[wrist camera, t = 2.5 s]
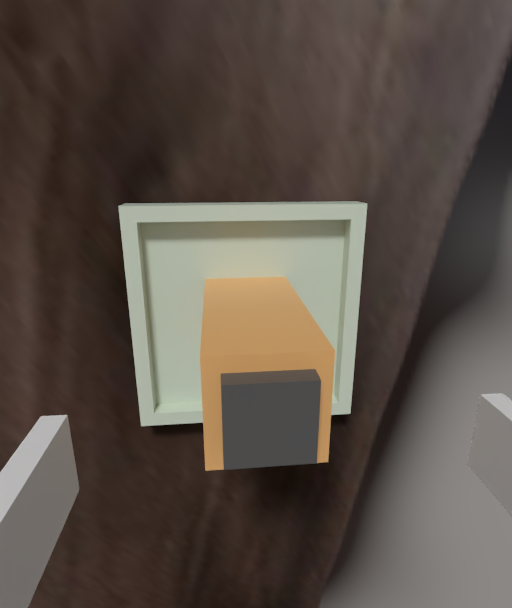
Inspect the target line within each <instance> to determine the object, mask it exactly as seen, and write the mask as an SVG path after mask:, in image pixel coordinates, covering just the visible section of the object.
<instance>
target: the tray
mask: <svg viewBox="0 0 512 608" xmlns="http://www.w3.org/2000/svg"><path fill="white" fill-rule="evenodd" d="M118 207H119V216H120V226H121V236H122V245H123V255H124V265H125V275H126V284H127V294H128V304H129V313H130V323H131V333H132V342H133V352H134V362H135V371H136V381H137V391H138V400H139V410H140V420H141V426H153V425H170V424H187V423H203V410H202V389H201V369H200V348H201V333H202V318H203V303H204V288H205V279H213V278H251V277H286V278H287V280H288V281H289V283H290V284H291V286H292V287H293V289H294V290H295V291H296V293H297V294H298V296H299V297H300V299H301V300H302V302H303V303H304V305H305V306H306V308H307V309H308V311H309V312H310V314H311V315H312V317H313V318H314V320H315V321H316V323H317V324H318V326H319V327H320V329H321V330H322V332H323V333H324V335H325V336H326V338H327V339H328V341H329V342H330V343H331V345H332V346H333V348H334V349H335V362H334V378H333V394H332V409H331V415H339V414H350V413H351V400H352V388H353V375H354V363H355V350H356V338H357V325H358V313H359V301H360V288H361V276H362V263H363V251H364V238H365V226H366V213H367V203H362V202H358V201H336V202H232V203H128V204H123V205H120V206H118Z"/></svg>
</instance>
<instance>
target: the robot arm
mask: <svg viewBox="0 0 512 608" xmlns="http://www.w3.org/2000/svg"><path fill="white" fill-rule="evenodd" d="M468 466H469V467H470V468H471V469H472V470H473V471H474V473H475V474H476V475H477V476H478V477H479V478H480V480H481V481H482V482H483V483H484V484H485V485H486V487H487V488H488V489H489V490H490V491H491V492H492V493H493V495H494V496H495V497H496V498H497V499H498V501H499V502H500V503H501V504H502V505H503V506H504V508H505V509H506V510H507V511H508V512H509V513H510V515H511V516H512V400H510V399H509V398H508V397H506V396H505V395H504V394H502V393H500V394H481V395H480V399H479V405H478V410H477V416H476V421H475V427H474V433H473V438H472V443H471V449H470V454H469V460H468ZM78 492H79V484H78V478H77V471H76V465H75V459H74V453H73V447H72V441H71V434H70V428H69V422H68V416H67V415H57V416H41V417H40V418H39V420H38V421H37V423H36V424H35V425H34V427H33V428H32V429H31V431H30V432H29V434H28V435H27V436H26V438H25V439H24V440H23V442H22V443H21V445H20V446H19V447H18V449H17V450H16V451H15V453H14V454H13V456H12V457H11V458H10V460H9V461H8V462H7V464H6V465H5V467H4V468H3V469H2V471H1V472H0V608H28V606H29V604H30V601H31V599H32V597H33V595H34V592H35V590H36V588H37V585H38V583H39V581H40V579H41V576H42V574H43V572H44V569H45V567H46V565H47V562H48V560H49V558H50V556H51V553H52V551H53V549H54V546H55V544H56V542H57V540H58V537H59V535H60V533H61V530H62V528H63V526H64V524H65V521H66V519H67V517H68V514H69V512H70V510H71V508H72V505H73V503H74V501H75V498H76V496H77V494H78Z"/></svg>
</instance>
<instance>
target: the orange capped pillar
mask: <svg viewBox="0 0 512 608" xmlns="http://www.w3.org/2000/svg"><path fill="white" fill-rule="evenodd" d="M334 362H335V349H334V348H333V346H332V345H331V343H330V342H329V341H328V339H327V338H326V336H325V335H324V333H323V332H322V330H321V329H320V327H319V326H318V324H317V323H316V321H315V320H314V318H313V317H312V315H311V314H310V312H309V311H308V309H307V308H306V306H305V305H304V303H303V302H302V300H301V299H300V297H299V296H298V294H297V293H296V291H295V290H294V289H293V287H292V286H291V284H290V283H289V281H288V280H287V278H286V277H251V278H213V279H205V288H204V303H203V318H202V333H201V348H200V369H201V389H202V410H203V430H204V451H205V471H208V470H222V469H224V470H228V469H243V468H257V467H271V466H285V465H300V464H314V463H322V462H328V457H329V441H330V425H331V409H332V394H333V378H334Z"/></svg>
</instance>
